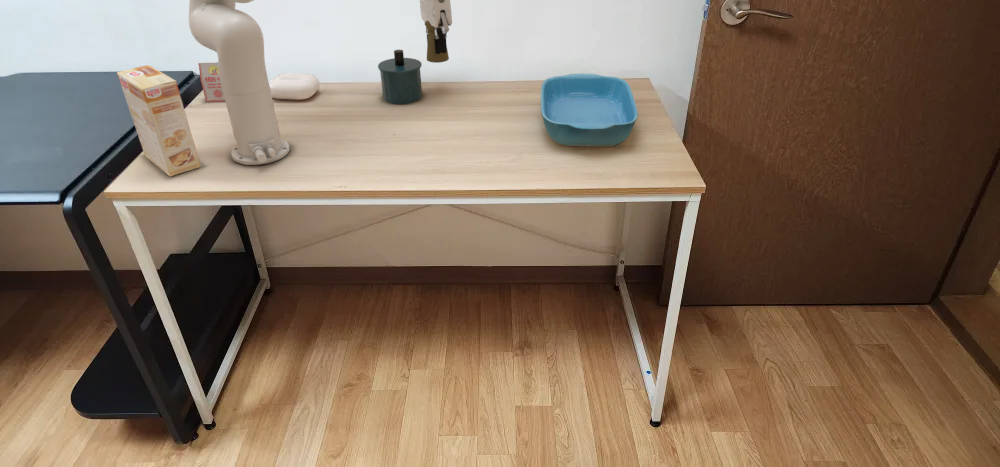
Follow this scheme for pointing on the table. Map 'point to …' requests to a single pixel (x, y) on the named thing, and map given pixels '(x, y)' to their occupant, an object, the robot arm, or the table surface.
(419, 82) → the pot
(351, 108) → the table surface
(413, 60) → the pot lid
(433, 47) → the pepper mill
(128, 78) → the coffeecake box
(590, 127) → the casserole dish
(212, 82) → the tea bag
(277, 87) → the earbud case
